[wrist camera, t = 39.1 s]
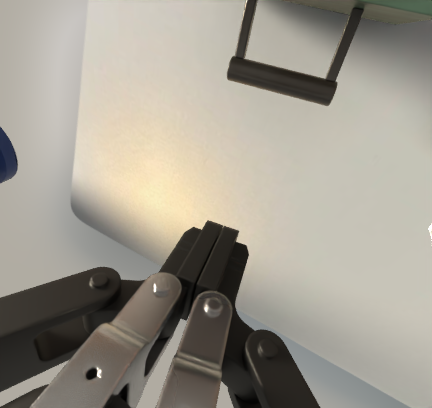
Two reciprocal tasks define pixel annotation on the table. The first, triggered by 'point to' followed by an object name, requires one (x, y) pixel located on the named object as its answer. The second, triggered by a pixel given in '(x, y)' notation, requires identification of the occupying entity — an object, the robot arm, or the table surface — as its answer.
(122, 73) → the table surface
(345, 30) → the drawer
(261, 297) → the table surface
